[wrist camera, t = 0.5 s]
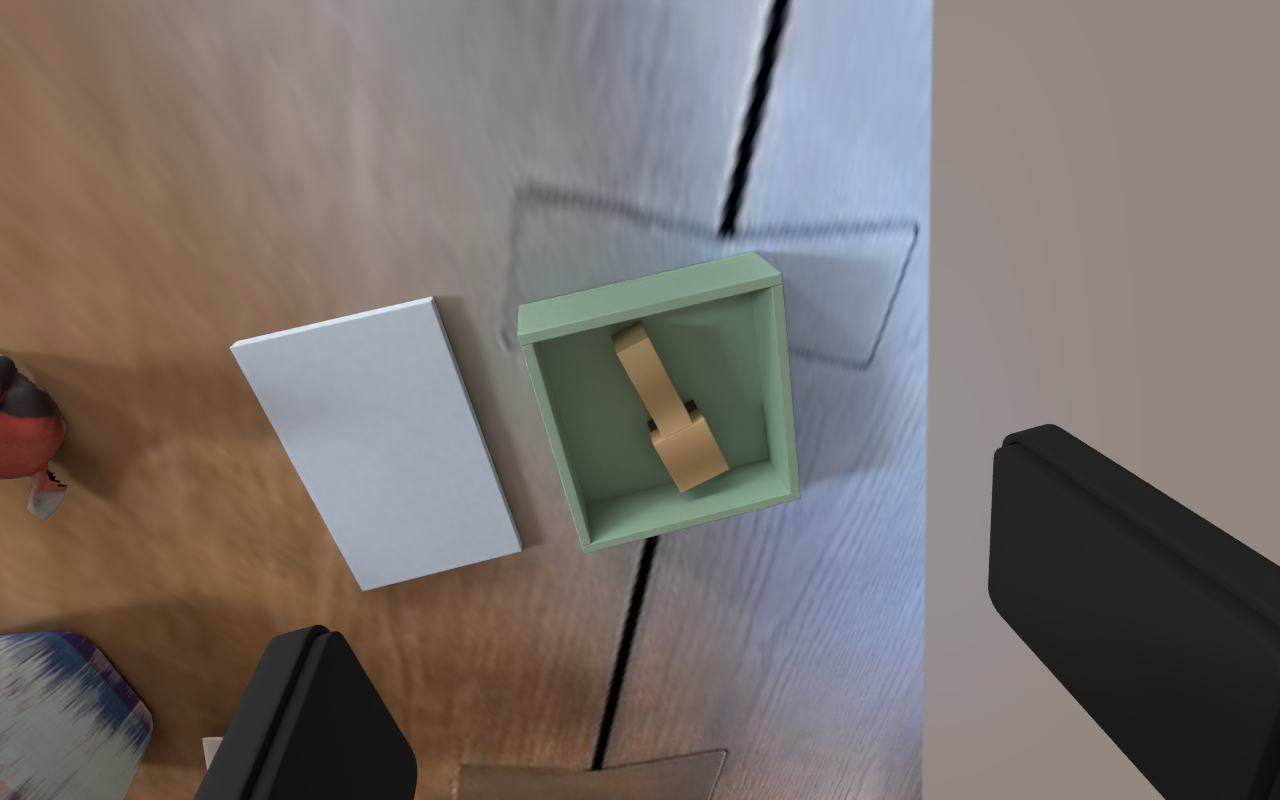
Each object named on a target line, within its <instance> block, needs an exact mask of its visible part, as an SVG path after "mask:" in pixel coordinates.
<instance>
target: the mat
mask: <svg viewBox="0 0 1280 800" xmlns="http://www.w3.org/2000/svg"><path fill="white" fill-rule="evenodd" d="M230 349H231V351H232V353H233V355H234V356H235V358H236V360H237V362H238V364H239V366H240V367H241V369H242V371H243V373H244V375H245V377H246V378H247V380H248V382H249V384H250V386H251V388H252V389H253V391H254V393H255V395H256V397H257V399H258V400H259V402H260V404H261V406H262V408H263V410H264V411H265V413H266V415H267V417H268V419H269V421H270V422H271V424H272V426H273V428H274V430H275V432H276V433H277V435H278V437H279V439H280V441H281V443H282V444H283V446H284V448H285V450H286V452H287V454H288V456H289V457H290V459H291V461H292V463H293V465H294V467H295V468H296V470H297V472H298V474H299V476H300V478H301V479H302V481H303V483H304V485H305V487H306V489H307V490H308V492H309V494H310V496H311V498H312V500H313V501H314V503H315V505H316V507H317V509H318V511H319V512H320V514H321V516H322V518H323V520H324V522H325V523H326V525H327V527H328V529H329V531H330V533H331V534H332V536H333V538H334V540H335V542H336V544H337V545H338V547H339V549H340V551H341V553H342V555H343V556H344V558H345V560H346V562H347V564H348V566H349V567H350V569H351V571H352V573H353V575H354V577H355V578H356V580H357V582H358V584H359V586H360V588H361V589H362V591H366V590H370V589H374V588H378V587H382V586H386V585H390V584H394V583H398V582H402V581H406V580H410V579H414V578H418V577H422V576H426V575H430V574H434V573H438V572H442V571H446V570H450V569H454V568H458V567H461V566H465V565H469V564H473V563H477V562H481V561H485V560H489V559H493V558H497V557H501V556H505V555H509V554H513V553H517V552H521V551H522V542H521V539H520V536H519V533H518V530H517V528H516V525H515V522H514V519H513V517H512V514H511V511H510V508H509V506H508V503H507V500H506V497H505V494H504V492H503V489H502V486H501V483H500V481H499V478H498V475H497V472H496V470H495V467H494V464H493V461H492V458H491V456H490V453H489V450H488V447H487V445H486V442H485V439H484V436H483V434H482V431H481V428H480V425H479V422H478V420H477V417H476V414H475V411H474V409H473V406H472V403H471V400H470V398H469V395H468V392H467V389H466V386H465V384H464V381H463V378H462V375H461V373H460V370H459V367H458V364H457V362H456V359H455V356H454V353H453V350H452V348H451V345H450V342H449V339H448V337H447V334H446V331H445V328H444V326H443V323H442V320H441V317H440V314H439V312H438V309H437V306H436V303H435V301H434V298H433V297H428V298H423V299H419V300H415V301H410V302H406V303H402V304H397V305H393V306H389V307H384V308H380V309H376V310H371V311H367V312H363V313H358V314H354V315H350V316H345V317H341V318H337V319H332V320H328V321H323V322H319V323H315V324H310V325H306V326H302V327H297V328H293V329H289V330H284V331H280V332H276V333H271V334H267V335H263V336H258V337H254V338H250V339H245V340H241V341H237V342H235V343H234V344H233V345H232V346H231V347H230Z"/></svg>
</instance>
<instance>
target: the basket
mask: <svg viewBox="0 0 1280 800" xmlns="http://www.w3.org/2000/svg"><path fill="white" fill-rule="evenodd" d="M782 283H783V281H782V273H781V272H780V271H779V270H777V269H776V268H775V267H774V266H772V265H771V264H770V263H769V262H767V261H766V260H765V259H763V258H762V257H761V256H760V255H758V254H757V253H756V252H755V251H752V252H747V253H743V254H739V255H735V256H730V257H726V258H722V259H717V260H713V261H709V262H704V263H700V264H696V265H692V266H687V267H683V268H679V269H674V270H670V271H666V272H662V273H657V274H653V275H649V276H644V277H640V278H636V279H631V280H627V281H623V282H619V283H614V284H610V285H606V286H601V287H597V288H593V289H588V290H584V291H580V292H576V293H571V294H567V295H563V296H558V297H554V298H550V299H546V300H541V301H537V302H533V303H528V304H524V305H520V306H519V311H518V339H519V342H520V345H521V349H522V352H523V355H524V359H525V362H526V365H527V368H528V372H529V375H530V378H531V382H532V385H533V388H534V392H535V395H536V398H537V401H538V405H539V408H540V411H541V415H542V418H543V421H544V424H545V428H546V431H547V434H548V438H549V441H550V444H551V448H552V451H553V454H554V457H555V461H556V464H557V467H558V471H559V474H560V477H561V481H562V484H563V487H564V490H565V494H566V497H567V500H568V504H569V507H570V510H571V513H572V517H573V520H574V523H575V527H576V530H577V533H578V537H579V540H580V543H581V547H582V550H583V553H584V554H585V553H589V552H593V551H597V550H601V549H605V548H609V547H613V546H617V545H621V544H625V543H628V542H632V541H636V540H640V539H644V538H648V537H652V536H656V535H660V534H664V533H668V532H672V531H676V530H680V529H684V528H688V527H692V526H695V525H699V524H703V523H707V522H711V521H715V520H719V519H723V518H727V517H731V516H735V515H739V514H743V513H747V512H751V511H755V510H759V509H762V508H766V507H770V506H774V505H778V504H782V503H786V502H790V501H794V500H798V499H800V486H799V474H798V462H797V449H796V437H795V425H794V413H793V401H792V388H791V376H790V364H789V352H788V340H787V327H786V315H785V303H784V291H783V284H782ZM639 321H642V323H643V325H644V327H645V329H646V331H647V333H648V335H649V337H650V339H651V341H652V342H653V344H654V346H655V348H656V350H657V352H658V354H659V356H660V358H661V360H662V362H663V364H664V366H665V368H666V370H667V372H668V373H669V375H670V377H671V379H672V381H673V383H674V385H675V387H676V389H677V391H678V393H679V395H680V397H681V399H682V401H683V402H684V404H685V403H687V402H688V401H690V400H692V399H693V400H694V402H695V404H696V406H697V408H699V409H700V410H701V412H702V414H703V416H704V418H705V420H706V422H707V424H708V426H709V428H710V430H711V432H712V434H713V436H714V438H715V440H716V442H717V444H718V446H719V448H720V450H721V452H722V454H723V456H724V458H725V460H726V462H727V464H728V466H729V468H730V469H729V470H727V471H725V472H723V473H721V474H719V475H717V476H715V477H713V478H711V479H709V480H707V481H705V482H703V483H701V484H699V485H697V486H694V487H692V488H690V489H688V490H686V491H684V492H682V493H681V492H680V491H679V489H678V487H677V486H676V484H675V482H674V480H673V479H672V477H671V475H670V473H669V472H668V470H667V468H666V466H665V465H664V463H663V461H662V459H661V458H660V456H659V454H658V452H657V451H656V449H655V447H654V445H653V443H652V440H651V437H650V429H649V426H648V423H647V422H649V421H651V420H653V419H652V417H651V415H650V413H649V411H648V410H647V408H646V406H645V404H644V402H643V401H642V399H641V397H640V395H639V393H638V392H637V390H636V388H635V386H634V384H633V383H632V381H631V379H630V377H629V375H628V374H627V372H626V370H625V368H624V366H623V365H622V363H621V361H620V359H619V357H618V356H617V353H616V350H615V347H614V344H613V341H612V338H611V336H612V335H614V334H616V333H618V332H620V331H622V330H624V329H626V328H628V327H630V326H632V325H633V324H635V323H637V322H639Z"/></svg>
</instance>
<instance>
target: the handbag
mask: <svg viewBox="0 0 1280 800" xmlns="http://www.w3.org/2000/svg"><path fill="white" fill-rule="evenodd" d="M152 731H153V722H152V716H151V713H150V712H149V710H148V709H147V708H146V706H145V705H144V703H143V702H142V701H141V700H140V699H139V697H138V696H137V695H136V694H135V693H134V692H133V690H132V689H131V688H130V687H129V686H128V684H127V683H126V682H125V681H124V680H123V679H122V677H121V676H120V675H119V674H118V672H117V671H116V670H115V669H114V667H113V666H112V665H111V664H110V662H109V661H108V660H107V659H106V657H105V656H104V655H103V654H102V652H101V651H100V650H99V649H98V648H97V647H96V646H95V645H94V644H93V643H92V642H91V641H90V640H89V639H87V638H85V637H83V636H81V635H79V634H76V633H74V632H67V631H49V632H32V633H15V634H8V635H1V636H0V800H124V798H125V795H126V793H127V791H128V789H129V787H130V785H131V783H132V781H133V779H134V777H135V775H136V772H137V770H138V768H139V766H140V764H141V762H142V759H143V757H144V755H145V753H146V750H147V748H148V746H149V744H150V740H151V735H152Z"/></svg>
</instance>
